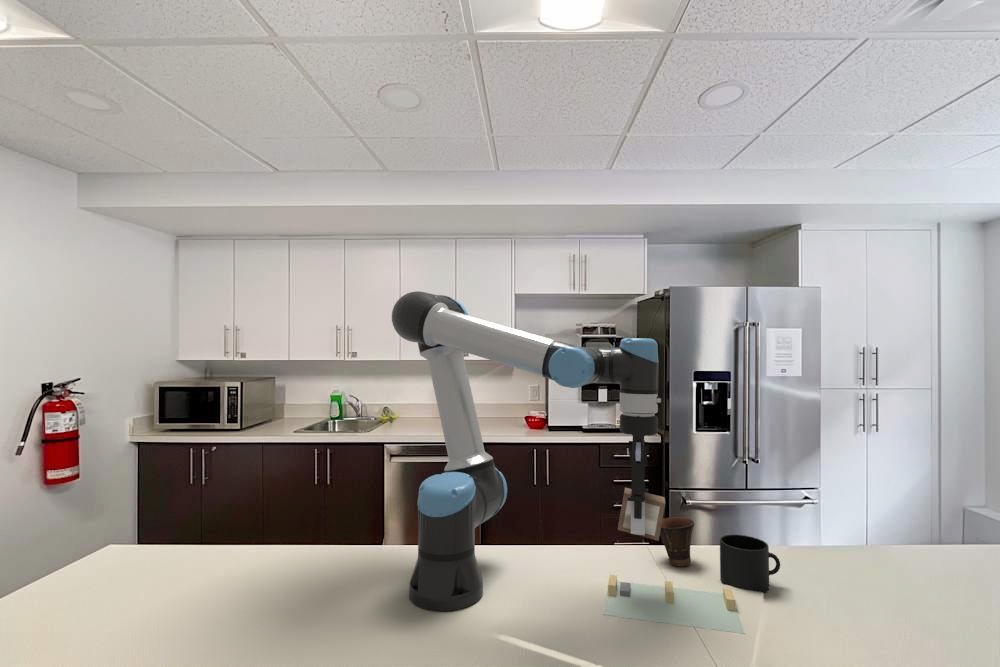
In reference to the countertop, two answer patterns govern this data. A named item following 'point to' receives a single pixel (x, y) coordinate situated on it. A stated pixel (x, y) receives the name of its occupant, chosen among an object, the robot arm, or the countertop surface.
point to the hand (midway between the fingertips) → (637, 529)
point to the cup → (677, 539)
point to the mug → (746, 563)
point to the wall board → (673, 605)
